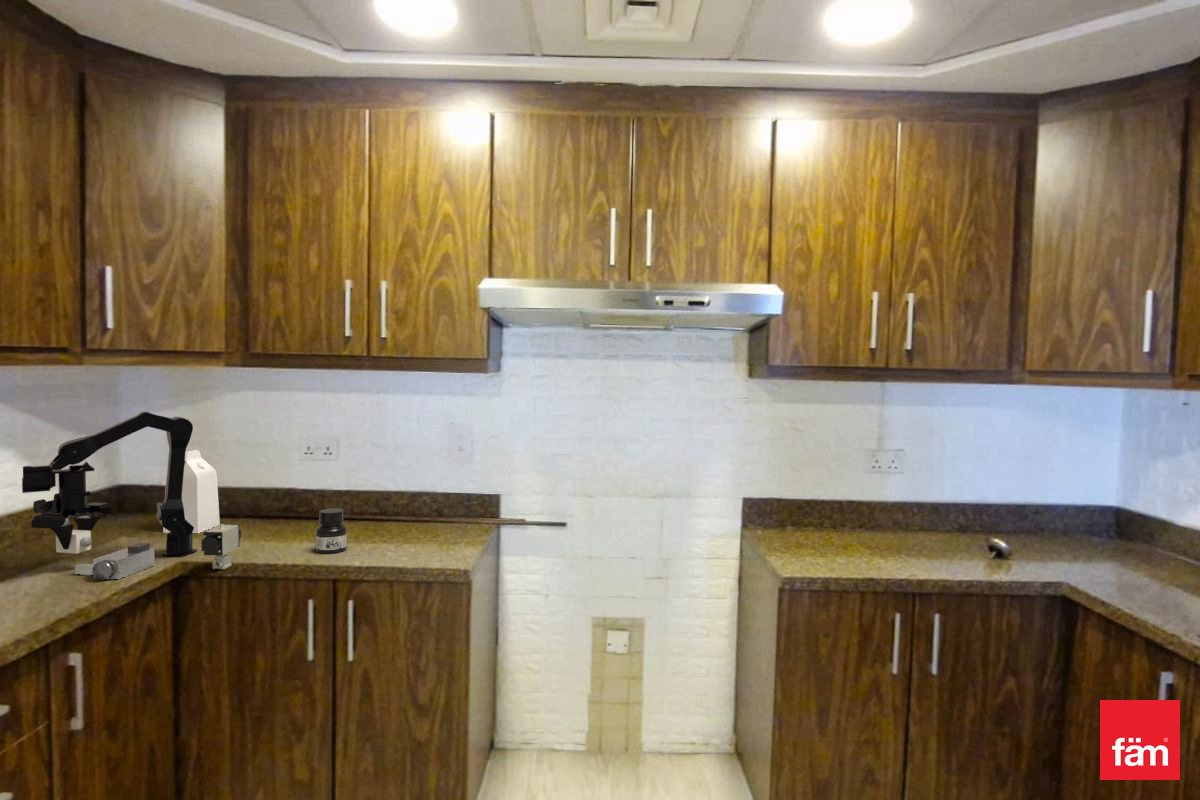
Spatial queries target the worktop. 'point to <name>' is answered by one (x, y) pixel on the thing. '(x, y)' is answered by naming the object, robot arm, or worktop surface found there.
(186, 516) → the milk
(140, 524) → the worktop surface
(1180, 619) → the worktop surface
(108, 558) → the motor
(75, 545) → the white block
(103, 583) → the worktop surface
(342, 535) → the ink bottle
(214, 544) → the pneumatic valve
